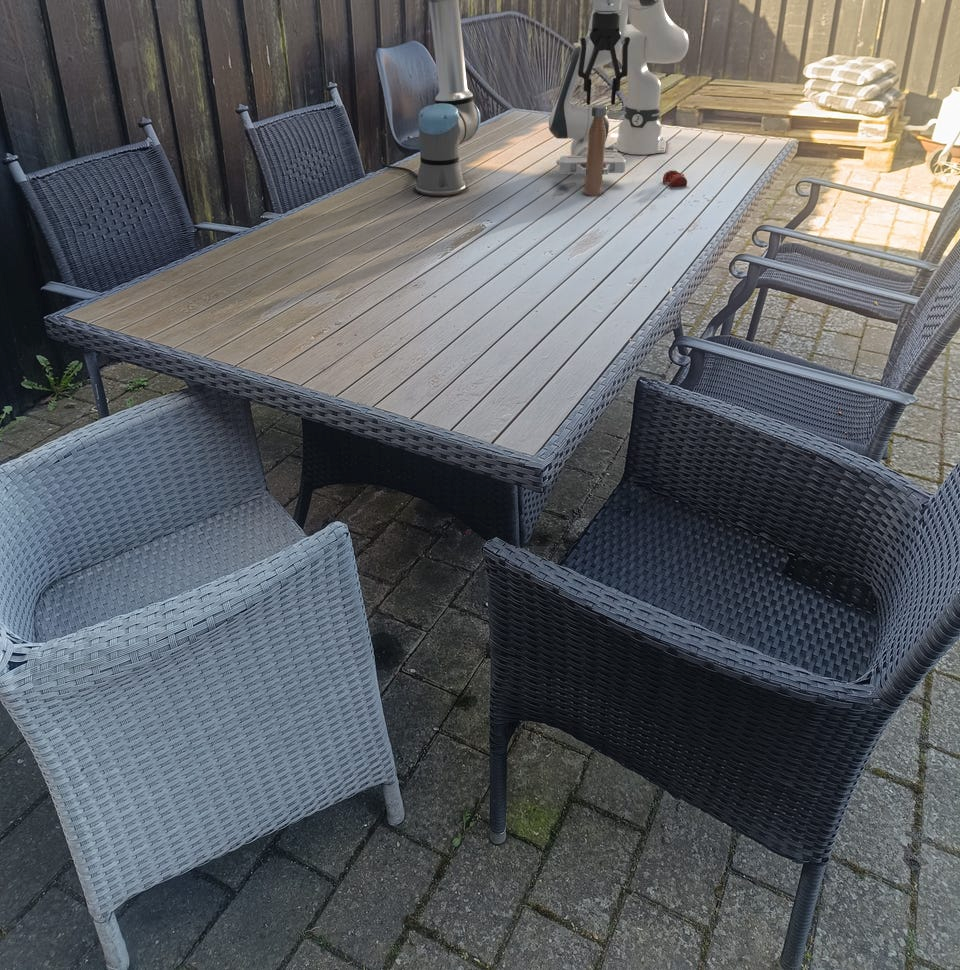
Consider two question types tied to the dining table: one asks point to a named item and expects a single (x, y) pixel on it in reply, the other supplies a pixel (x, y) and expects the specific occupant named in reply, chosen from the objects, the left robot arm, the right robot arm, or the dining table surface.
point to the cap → (598, 111)
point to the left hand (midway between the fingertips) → (600, 103)
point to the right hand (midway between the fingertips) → (594, 171)
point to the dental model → (675, 179)
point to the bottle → (595, 157)
